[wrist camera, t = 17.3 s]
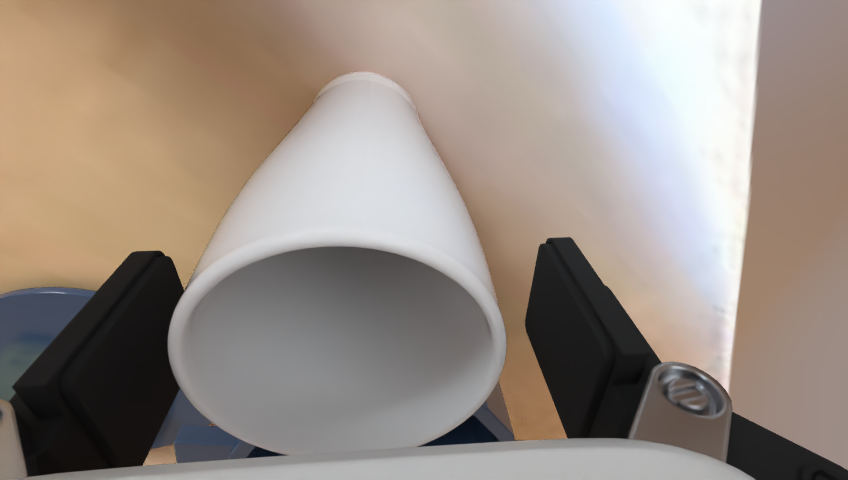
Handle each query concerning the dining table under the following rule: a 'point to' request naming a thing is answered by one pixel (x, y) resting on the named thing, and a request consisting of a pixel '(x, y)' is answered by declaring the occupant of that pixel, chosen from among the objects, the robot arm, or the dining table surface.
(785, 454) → the robot arm
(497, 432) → the pot
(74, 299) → the pot lid
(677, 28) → the dining table surface
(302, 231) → the white tumbler
